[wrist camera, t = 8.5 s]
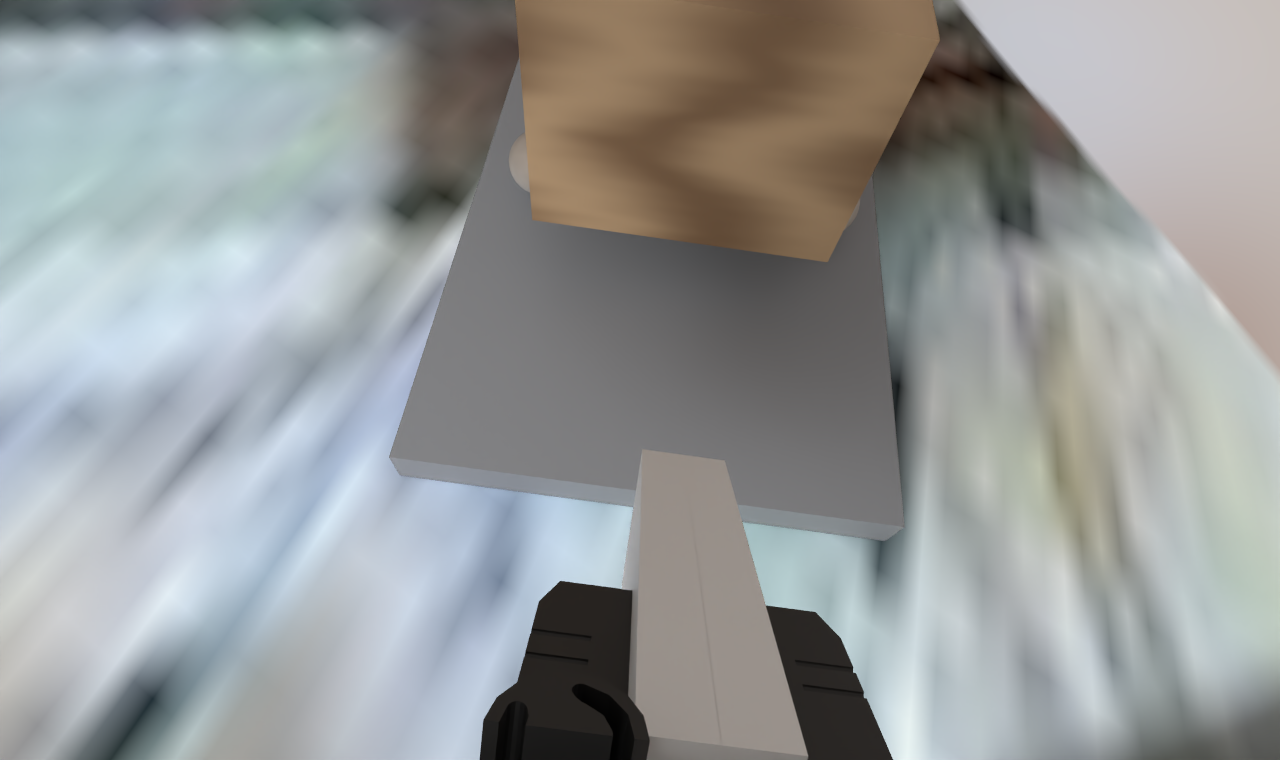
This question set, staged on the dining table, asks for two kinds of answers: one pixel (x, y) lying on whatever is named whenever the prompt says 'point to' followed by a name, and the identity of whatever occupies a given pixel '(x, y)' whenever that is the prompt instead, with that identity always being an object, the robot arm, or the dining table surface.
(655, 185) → the oak block
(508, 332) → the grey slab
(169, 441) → the dining table surface
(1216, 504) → the dining table surface
